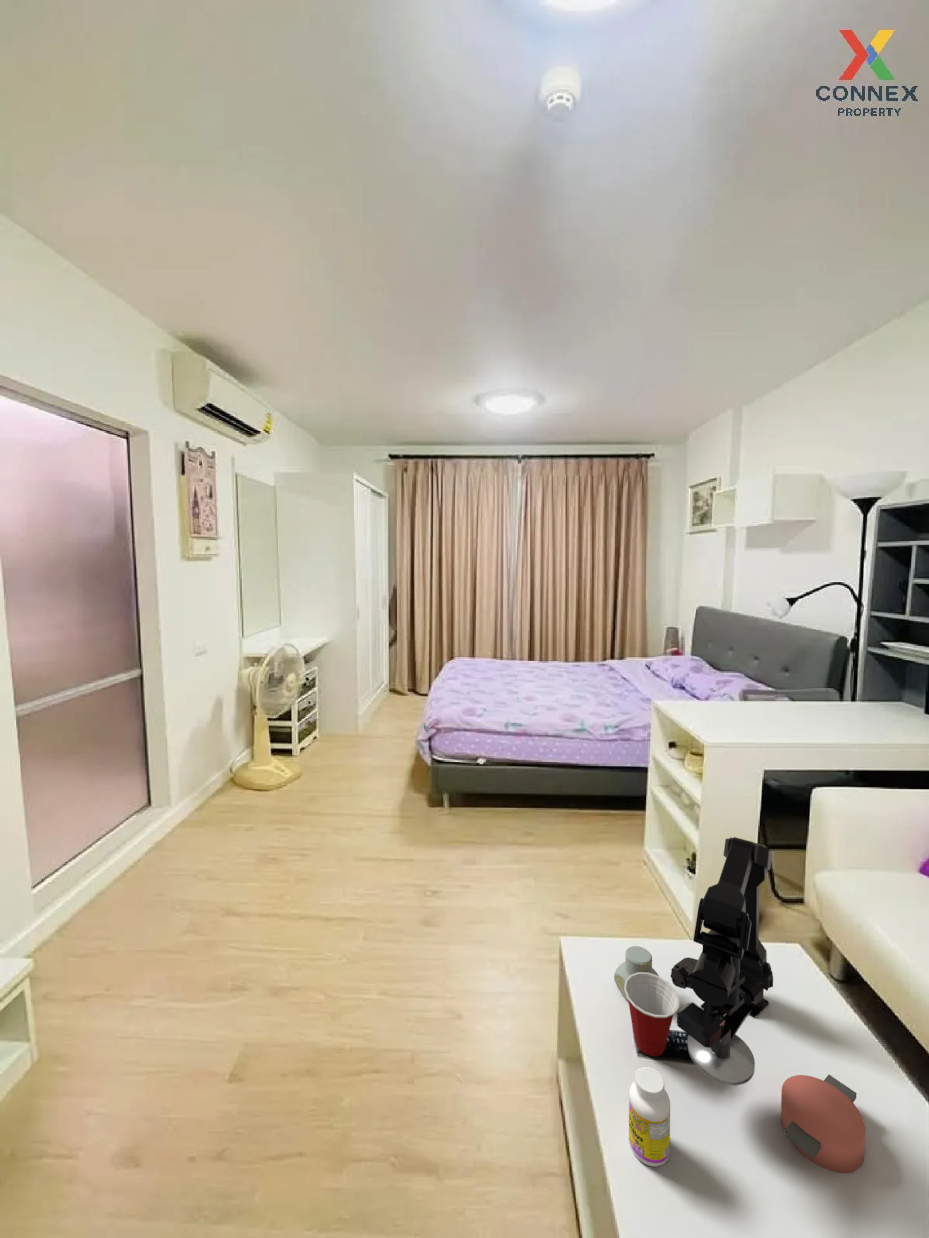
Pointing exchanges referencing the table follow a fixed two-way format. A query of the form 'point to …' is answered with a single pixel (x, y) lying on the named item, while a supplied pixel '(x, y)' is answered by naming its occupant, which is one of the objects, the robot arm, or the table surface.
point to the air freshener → (633, 966)
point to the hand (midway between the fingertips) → (720, 1047)
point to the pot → (823, 1122)
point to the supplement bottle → (649, 1117)
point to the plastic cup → (651, 1010)
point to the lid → (724, 1060)
